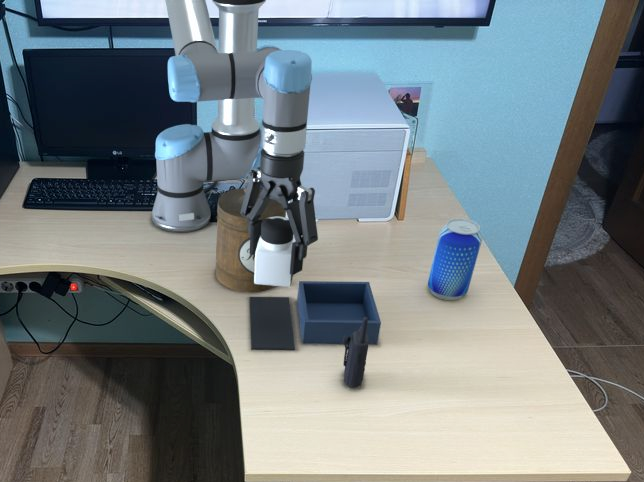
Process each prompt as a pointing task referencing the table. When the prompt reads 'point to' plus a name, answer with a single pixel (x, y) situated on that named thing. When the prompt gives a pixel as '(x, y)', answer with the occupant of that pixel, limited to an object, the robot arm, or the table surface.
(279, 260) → the medicine bottle
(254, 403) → the table surface
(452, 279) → the beer can
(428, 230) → the table surface
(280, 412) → the table surface
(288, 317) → the mat
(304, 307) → the tote
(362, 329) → the two-way radio
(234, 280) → the wooden container
